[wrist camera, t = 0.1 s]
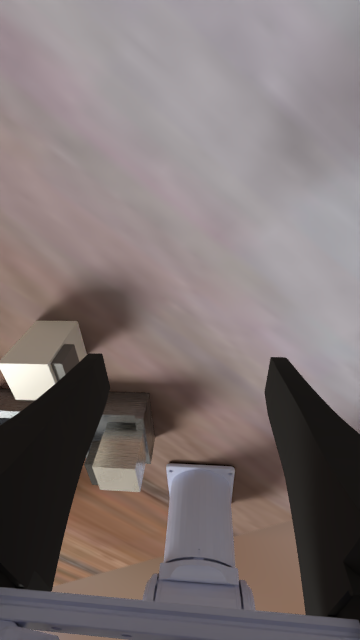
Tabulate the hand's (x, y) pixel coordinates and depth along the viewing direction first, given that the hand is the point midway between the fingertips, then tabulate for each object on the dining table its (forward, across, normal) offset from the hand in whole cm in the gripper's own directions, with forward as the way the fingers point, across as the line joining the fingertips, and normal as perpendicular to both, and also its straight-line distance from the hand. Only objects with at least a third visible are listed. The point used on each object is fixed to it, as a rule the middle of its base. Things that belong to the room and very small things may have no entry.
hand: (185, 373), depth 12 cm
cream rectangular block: (+10, +12, +6) cm, 16 cm away
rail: (+10, +12, +16) cm, 22 cm away
